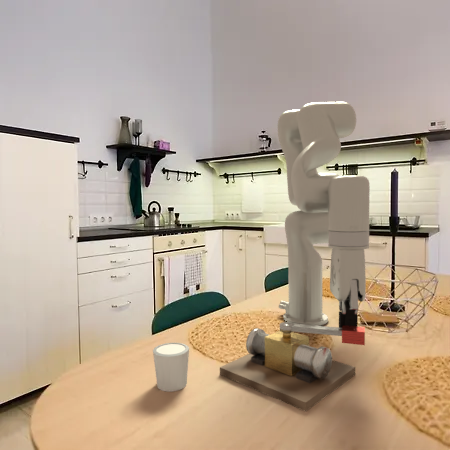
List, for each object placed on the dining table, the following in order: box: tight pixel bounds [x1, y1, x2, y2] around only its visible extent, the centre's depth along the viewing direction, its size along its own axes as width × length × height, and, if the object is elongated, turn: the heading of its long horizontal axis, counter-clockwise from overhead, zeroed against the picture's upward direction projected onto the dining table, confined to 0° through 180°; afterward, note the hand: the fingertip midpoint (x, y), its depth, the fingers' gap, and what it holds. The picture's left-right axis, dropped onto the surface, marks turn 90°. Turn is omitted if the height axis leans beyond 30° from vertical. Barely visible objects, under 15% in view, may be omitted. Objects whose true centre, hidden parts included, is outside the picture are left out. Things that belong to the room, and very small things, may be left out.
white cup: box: [152, 342, 190, 392], centre depth 73 cm, size 7×7×7 cm
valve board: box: [219, 353, 356, 412], centre depth 77 cm, size 20×18×2 cm
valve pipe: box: [245, 327, 333, 383], centre depth 76 cm, size 17×6×7 cm, turn 46°
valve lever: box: [279, 321, 366, 346], centre depth 74 cm, size 3×16×2 cm, turn 71°
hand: (347, 332), depth 76 cm, fingers closed
